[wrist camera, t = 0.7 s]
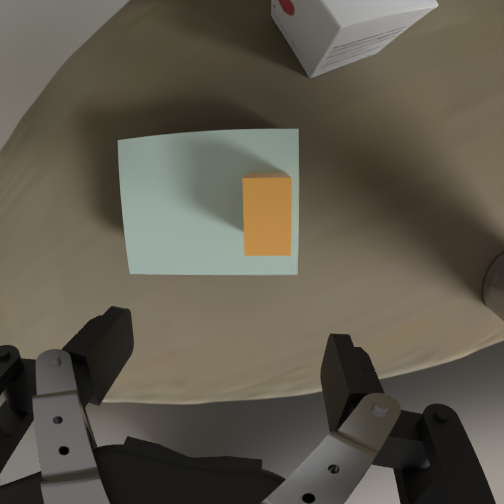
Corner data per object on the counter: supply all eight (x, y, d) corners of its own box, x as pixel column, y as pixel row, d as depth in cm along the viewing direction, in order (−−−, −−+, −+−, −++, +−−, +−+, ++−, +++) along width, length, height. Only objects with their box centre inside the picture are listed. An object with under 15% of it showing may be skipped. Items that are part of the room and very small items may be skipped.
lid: (296, 131, 25) (307, 121, 18) (295, 265, 29) (304, 304, 21) (128, 140, 26) (84, 139, 19) (138, 265, 30) (103, 299, 22)
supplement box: (267, 15, 27) (266, -64, 12) (338, -8, 25) (373, -82, 11) (308, 81, 29) (338, 29, 15) (378, 55, 27) (443, 4, 13)
